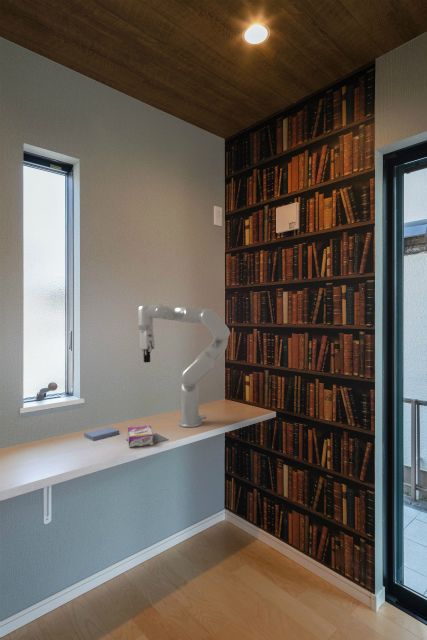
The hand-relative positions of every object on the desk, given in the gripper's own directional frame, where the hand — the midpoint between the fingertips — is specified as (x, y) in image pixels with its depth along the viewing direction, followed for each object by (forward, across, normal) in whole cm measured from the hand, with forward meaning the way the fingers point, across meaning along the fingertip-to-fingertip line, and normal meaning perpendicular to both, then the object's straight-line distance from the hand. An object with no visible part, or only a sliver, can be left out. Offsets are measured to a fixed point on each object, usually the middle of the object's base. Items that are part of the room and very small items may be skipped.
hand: (147, 362), depth 200 cm
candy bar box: (+32, -12, +11) cm, 36 cm away
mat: (+35, -20, +10) cm, 42 cm away
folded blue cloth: (+36, +2, +25) cm, 44 cm away
